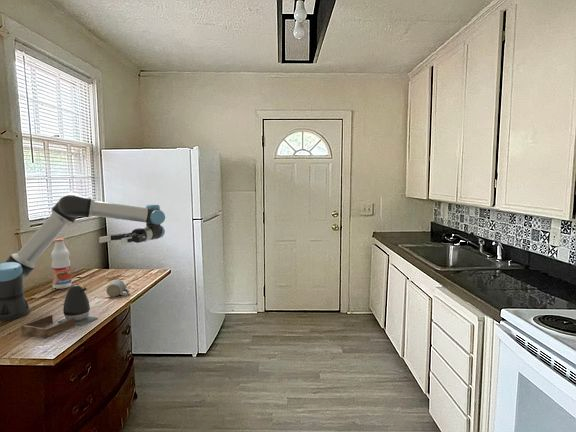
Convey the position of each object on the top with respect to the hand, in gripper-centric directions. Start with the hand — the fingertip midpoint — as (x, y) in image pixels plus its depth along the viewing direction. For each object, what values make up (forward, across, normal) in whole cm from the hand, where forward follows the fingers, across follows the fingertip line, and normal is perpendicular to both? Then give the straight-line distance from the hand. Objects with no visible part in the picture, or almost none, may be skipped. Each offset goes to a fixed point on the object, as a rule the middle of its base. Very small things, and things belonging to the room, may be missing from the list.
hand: (110, 240), depth 181 cm
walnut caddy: (+33, +1, -32) cm, 46 cm away
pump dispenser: (+21, -1, -32) cm, 38 cm away
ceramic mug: (-14, +11, -32) cm, 37 cm away
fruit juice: (-16, +54, -32) cm, 65 cm away
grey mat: (+21, -1, -32) cm, 38 cm away
